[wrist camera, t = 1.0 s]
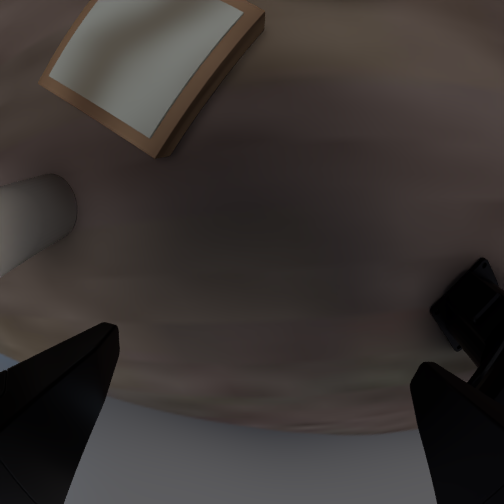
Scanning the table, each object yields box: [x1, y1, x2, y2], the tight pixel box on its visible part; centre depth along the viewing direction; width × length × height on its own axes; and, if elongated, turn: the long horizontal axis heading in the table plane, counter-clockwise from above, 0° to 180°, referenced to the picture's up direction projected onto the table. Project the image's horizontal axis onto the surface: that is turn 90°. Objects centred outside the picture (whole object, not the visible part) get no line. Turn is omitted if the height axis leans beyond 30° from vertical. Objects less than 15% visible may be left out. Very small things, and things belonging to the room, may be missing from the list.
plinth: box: [38, 0, 265, 159], centre depth 15 cm, size 10×10×3 cm
